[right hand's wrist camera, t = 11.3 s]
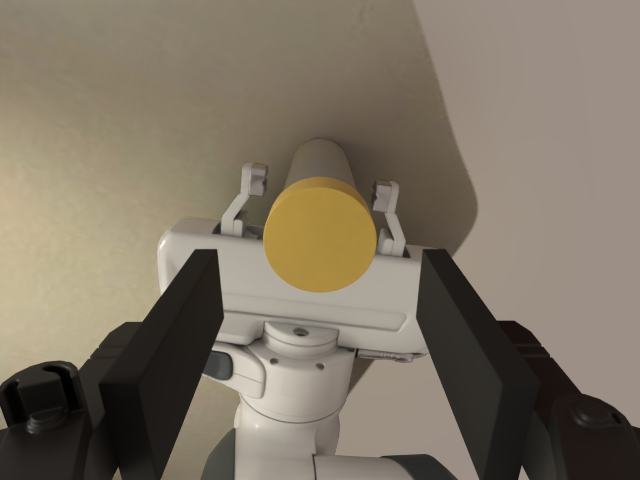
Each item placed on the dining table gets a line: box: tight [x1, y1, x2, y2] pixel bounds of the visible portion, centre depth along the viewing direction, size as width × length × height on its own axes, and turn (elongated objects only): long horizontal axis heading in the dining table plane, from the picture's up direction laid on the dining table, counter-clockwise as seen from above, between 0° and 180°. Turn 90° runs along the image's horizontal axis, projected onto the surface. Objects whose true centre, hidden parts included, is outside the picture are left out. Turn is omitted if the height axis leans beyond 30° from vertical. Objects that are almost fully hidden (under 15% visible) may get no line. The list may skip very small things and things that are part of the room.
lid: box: [263, 177, 377, 293], centre depth 19 cm, size 5×5×2 cm
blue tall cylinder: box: [282, 138, 358, 192], centre depth 26 cm, size 4×4×16 cm
